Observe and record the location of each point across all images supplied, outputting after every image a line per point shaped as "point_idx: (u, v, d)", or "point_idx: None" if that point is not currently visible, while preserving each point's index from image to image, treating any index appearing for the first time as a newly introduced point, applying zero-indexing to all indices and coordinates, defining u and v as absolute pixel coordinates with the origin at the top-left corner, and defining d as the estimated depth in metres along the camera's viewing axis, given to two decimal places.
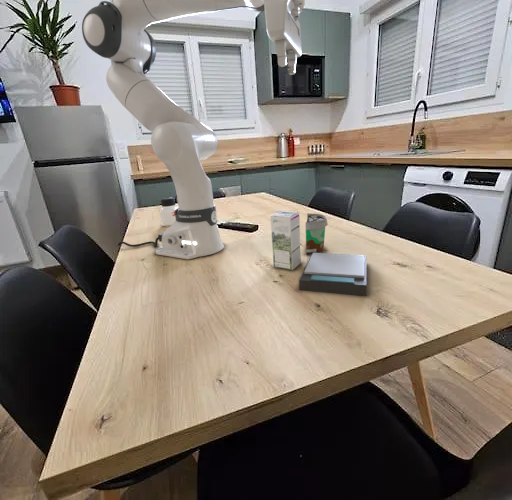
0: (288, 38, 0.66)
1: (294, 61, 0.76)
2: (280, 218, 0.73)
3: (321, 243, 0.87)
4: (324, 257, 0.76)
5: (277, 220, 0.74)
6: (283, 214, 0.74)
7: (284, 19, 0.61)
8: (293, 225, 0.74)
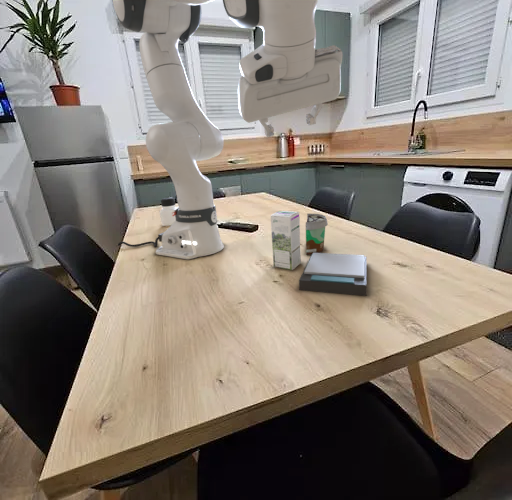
0: (267, 116, 0.57)
1: (315, 111, 0.61)
2: (280, 218, 0.73)
3: (321, 243, 0.87)
4: (324, 257, 0.76)
5: (277, 220, 0.74)
6: (283, 214, 0.74)
7: (245, 112, 0.55)
8: (293, 225, 0.74)
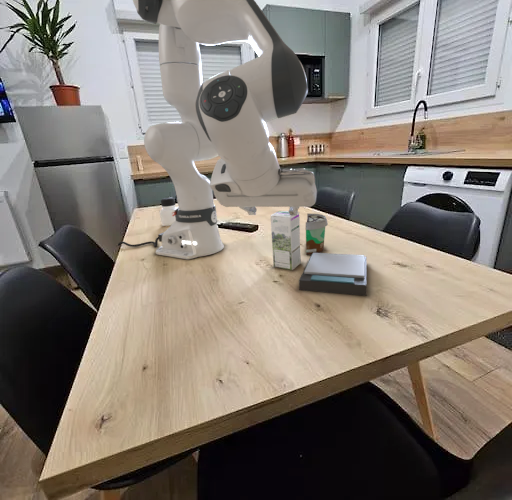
0: (241, 206, 0.62)
1: (294, 207, 0.61)
2: (280, 218, 0.73)
3: (321, 243, 0.87)
4: (324, 257, 0.76)
5: (277, 220, 0.74)
6: (283, 214, 0.74)
7: (219, 201, 0.62)
8: (293, 225, 0.74)
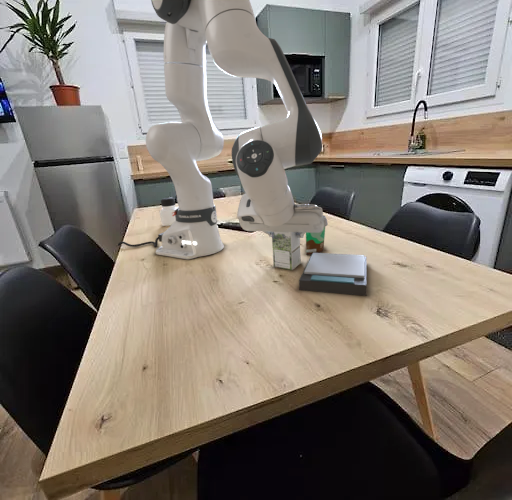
0: None
1: None
2: None
3: (321, 243, 0.87)
4: (324, 257, 0.76)
5: None
6: None
7: (242, 227, 0.74)
8: None
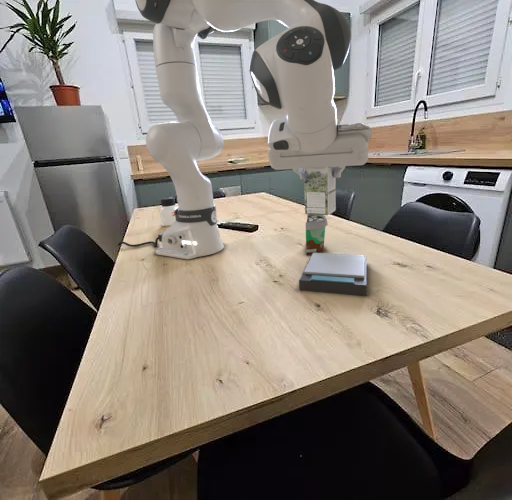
0: (292, 168, 0.65)
1: (339, 168, 0.63)
2: None
3: (321, 243, 0.87)
4: (324, 257, 0.76)
5: None
6: None
7: (270, 163, 0.64)
8: None
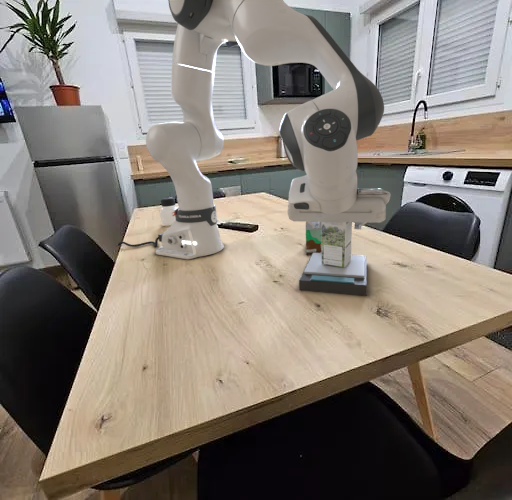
0: (310, 221, 0.66)
1: (361, 222, 0.65)
2: None
3: None
4: None
5: None
6: None
7: (289, 217, 0.66)
8: None
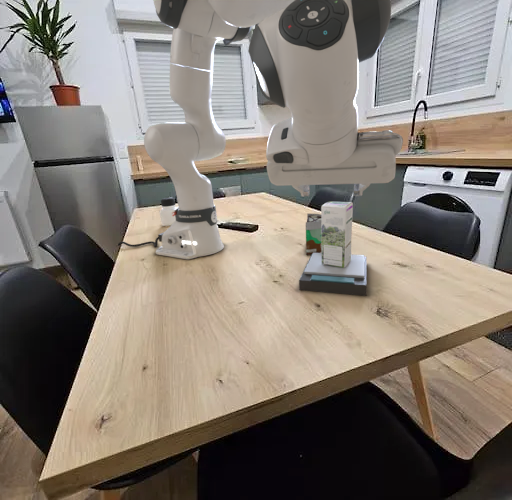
0: (297, 184, 0.51)
1: (362, 185, 0.50)
2: (333, 209, 0.65)
3: None
4: None
5: (329, 211, 0.65)
6: (336, 204, 0.66)
7: (270, 178, 0.51)
8: (347, 217, 0.65)
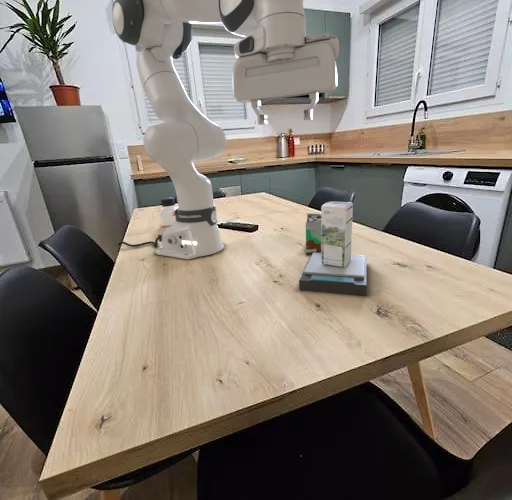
0: (255, 97, 0.58)
1: None
2: (333, 209, 0.65)
3: None
4: None
5: (329, 211, 0.65)
6: (336, 204, 0.66)
7: (233, 87, 0.59)
8: (347, 217, 0.65)
